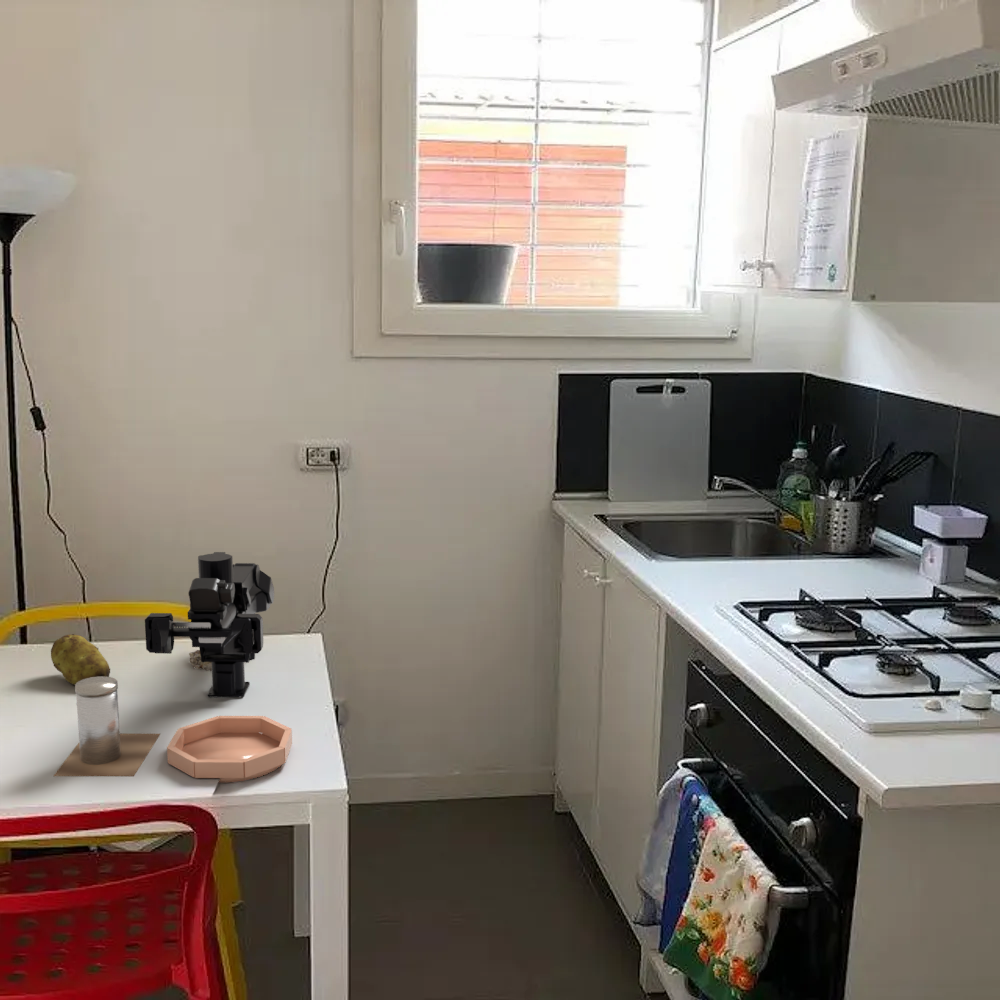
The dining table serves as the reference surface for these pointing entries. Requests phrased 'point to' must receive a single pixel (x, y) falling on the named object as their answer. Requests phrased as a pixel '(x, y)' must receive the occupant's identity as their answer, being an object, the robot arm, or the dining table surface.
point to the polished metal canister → (98, 720)
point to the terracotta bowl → (230, 747)
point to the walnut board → (125, 765)
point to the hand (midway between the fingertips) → (192, 650)
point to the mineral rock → (199, 661)
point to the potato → (78, 659)
